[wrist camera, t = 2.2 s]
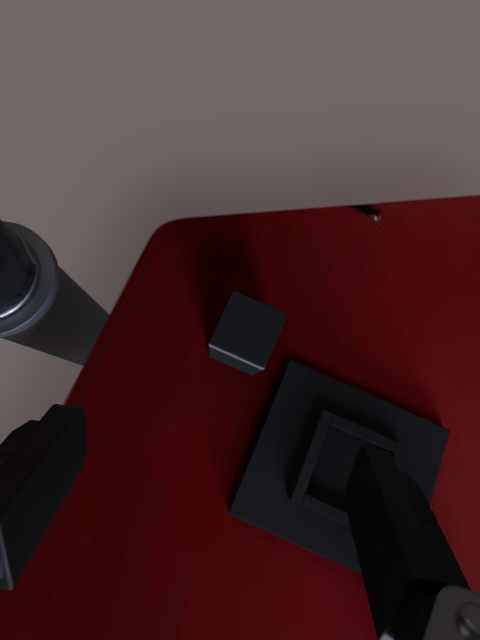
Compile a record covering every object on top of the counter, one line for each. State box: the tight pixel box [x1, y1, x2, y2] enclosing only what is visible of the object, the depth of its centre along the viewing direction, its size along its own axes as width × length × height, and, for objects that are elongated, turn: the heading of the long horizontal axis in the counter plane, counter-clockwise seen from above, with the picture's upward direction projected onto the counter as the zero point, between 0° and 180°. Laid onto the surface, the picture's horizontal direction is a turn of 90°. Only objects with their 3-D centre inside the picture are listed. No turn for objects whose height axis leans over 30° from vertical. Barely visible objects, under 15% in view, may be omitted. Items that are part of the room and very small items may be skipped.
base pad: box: [228, 360, 450, 574], centre depth 34 cm, size 17×15×2 cm
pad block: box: [209, 291, 287, 376], centre depth 33 cm, size 5×5×8 cm
